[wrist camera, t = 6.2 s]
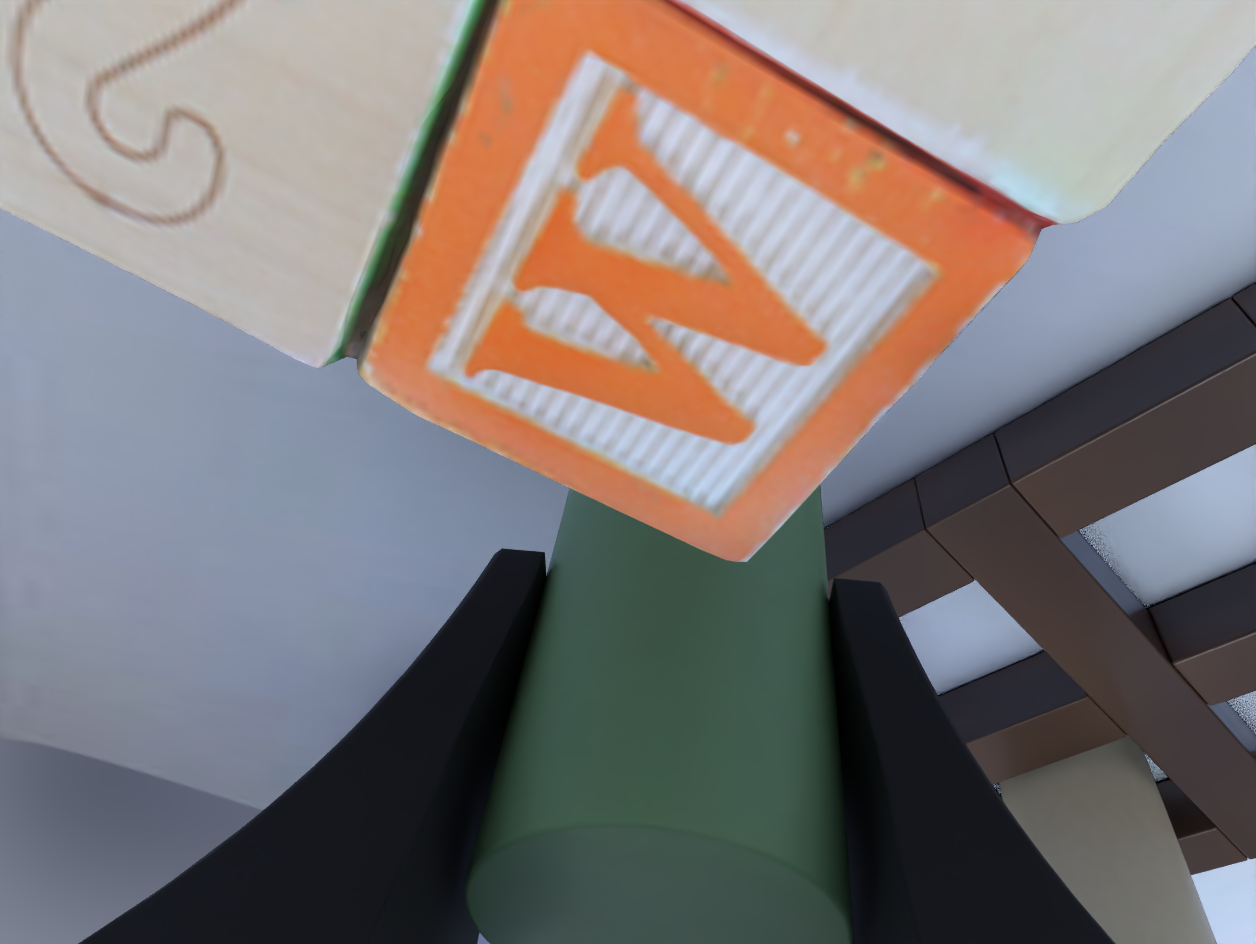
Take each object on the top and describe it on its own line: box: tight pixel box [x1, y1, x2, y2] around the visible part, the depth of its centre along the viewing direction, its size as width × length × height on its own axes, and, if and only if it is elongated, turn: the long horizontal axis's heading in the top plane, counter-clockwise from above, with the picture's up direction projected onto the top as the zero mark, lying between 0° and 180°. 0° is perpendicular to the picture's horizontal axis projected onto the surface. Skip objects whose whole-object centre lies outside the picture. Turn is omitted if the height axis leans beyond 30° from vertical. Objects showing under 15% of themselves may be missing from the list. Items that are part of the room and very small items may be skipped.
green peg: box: [464, 485, 854, 944], centre depth 12 cm, size 4×4×7 cm
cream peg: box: [999, 735, 1217, 944], centre depth 24 cm, size 4×4×7 cm
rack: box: [824, 284, 1256, 875], centre depth 23 cm, size 16×16×2 cm
